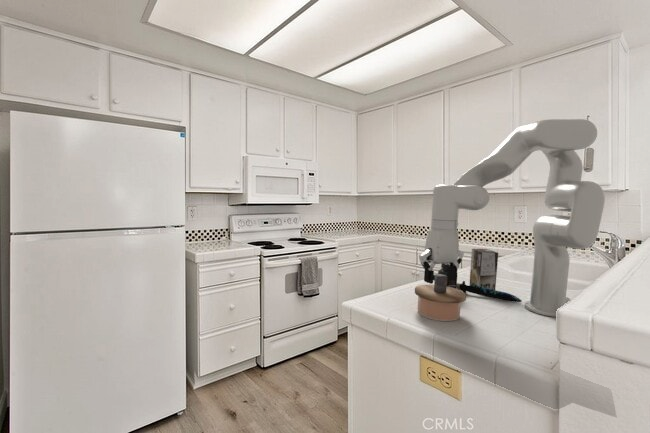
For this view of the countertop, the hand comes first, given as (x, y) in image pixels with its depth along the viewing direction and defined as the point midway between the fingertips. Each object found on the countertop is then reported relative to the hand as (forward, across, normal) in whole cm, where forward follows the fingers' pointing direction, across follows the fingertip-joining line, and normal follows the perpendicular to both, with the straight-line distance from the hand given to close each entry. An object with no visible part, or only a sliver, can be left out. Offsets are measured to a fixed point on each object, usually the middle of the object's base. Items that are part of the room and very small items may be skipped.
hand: (440, 281), depth 100 cm
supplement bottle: (+10, -17, -13) cm, 24 cm away
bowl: (+10, 0, 0) cm, 10 cm away
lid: (+4, 0, 0) cm, 4 cm away
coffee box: (+10, -35, -12) cm, 38 cm away
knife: (+10, -27, -9) cm, 30 cm away
